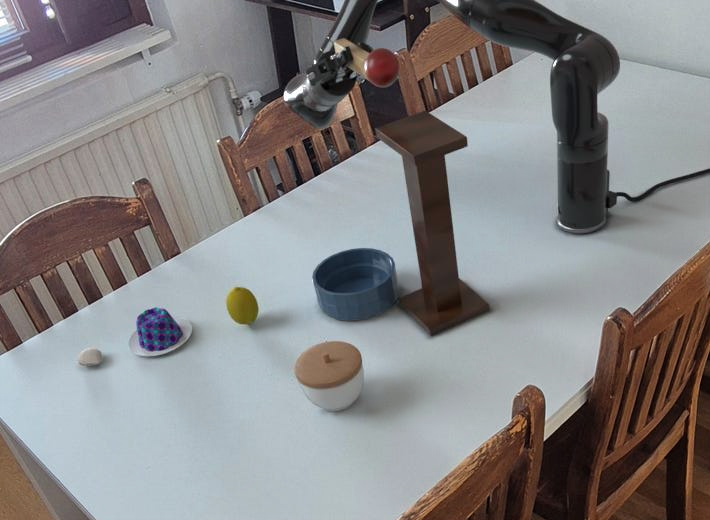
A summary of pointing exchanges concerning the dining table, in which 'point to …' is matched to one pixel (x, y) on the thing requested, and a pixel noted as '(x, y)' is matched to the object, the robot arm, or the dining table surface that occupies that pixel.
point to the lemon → (242, 305)
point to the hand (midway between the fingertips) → (356, 50)
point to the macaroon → (90, 357)
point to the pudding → (158, 333)
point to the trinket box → (330, 374)
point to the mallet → (372, 63)
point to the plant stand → (432, 221)
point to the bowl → (356, 283)
